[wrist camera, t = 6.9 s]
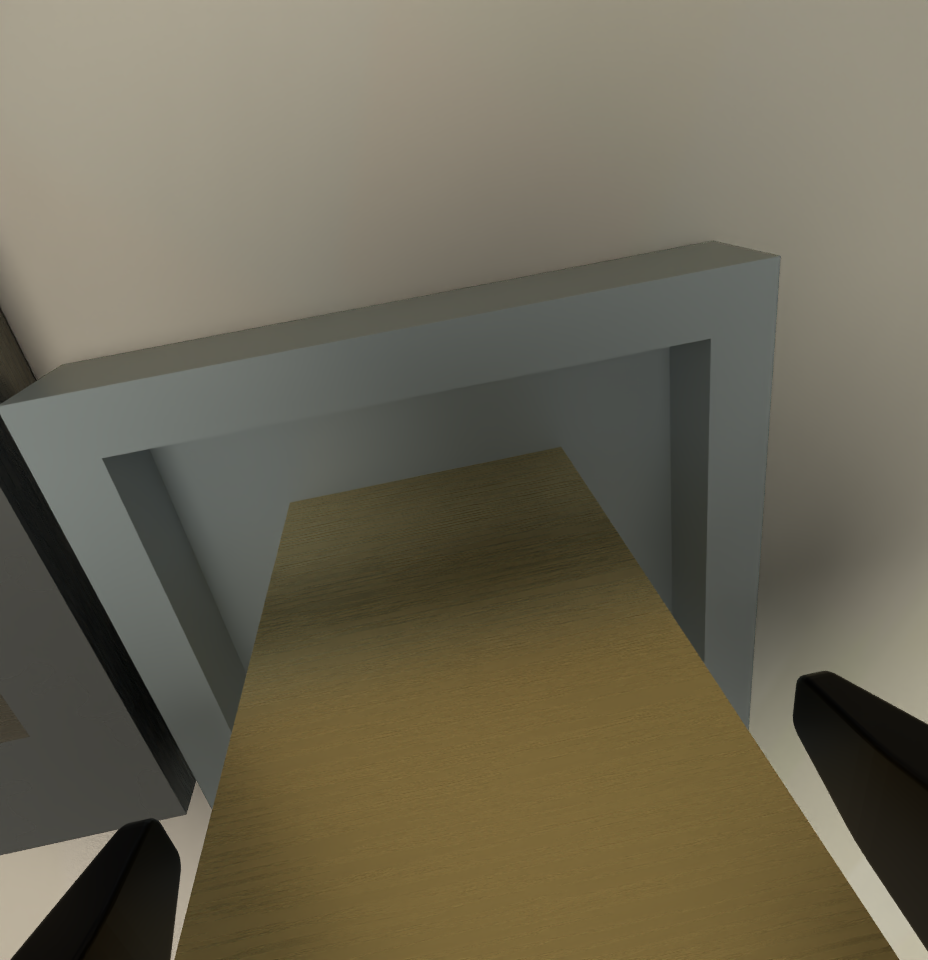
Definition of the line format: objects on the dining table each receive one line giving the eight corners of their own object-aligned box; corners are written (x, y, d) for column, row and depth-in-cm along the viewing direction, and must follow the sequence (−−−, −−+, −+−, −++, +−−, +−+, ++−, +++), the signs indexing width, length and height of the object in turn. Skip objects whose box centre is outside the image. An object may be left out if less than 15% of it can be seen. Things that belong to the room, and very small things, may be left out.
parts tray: (713, 240, 11) (780, 255, 9) (703, 703, 16) (745, 771, 14) (61, 365, 10) (-4, 406, 9) (265, 799, 15) (251, 883, 14)
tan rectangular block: (561, 447, 12) (914, 982, 4) (582, 652, 14) (830, 1238, 6) (289, 502, 11) (119, 1174, 4) (357, 701, 14) (334, 1366, 6)
